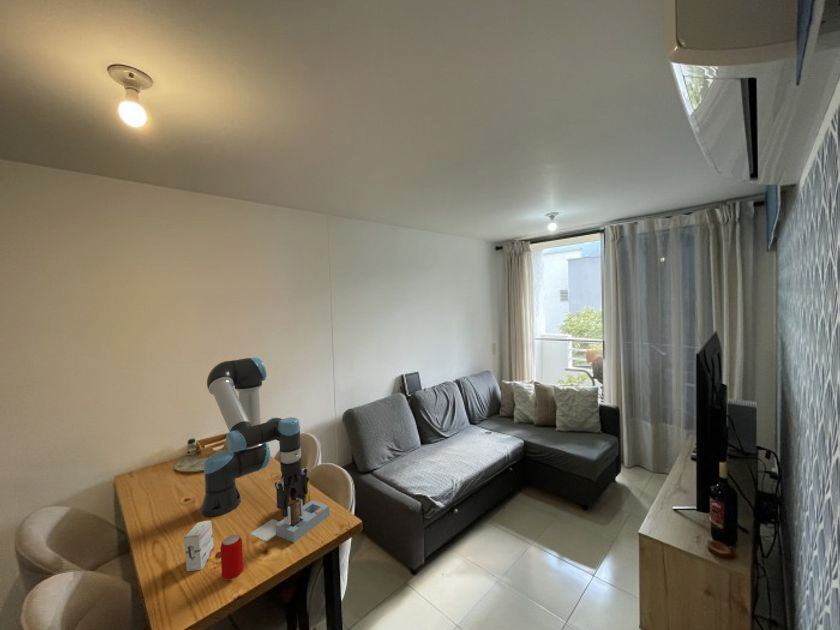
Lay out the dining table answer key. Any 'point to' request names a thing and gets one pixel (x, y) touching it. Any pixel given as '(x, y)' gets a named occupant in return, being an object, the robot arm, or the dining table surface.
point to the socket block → (303, 521)
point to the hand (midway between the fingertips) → (294, 519)
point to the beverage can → (231, 557)
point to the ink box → (198, 545)
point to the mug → (294, 495)
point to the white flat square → (266, 530)
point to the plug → (294, 512)
